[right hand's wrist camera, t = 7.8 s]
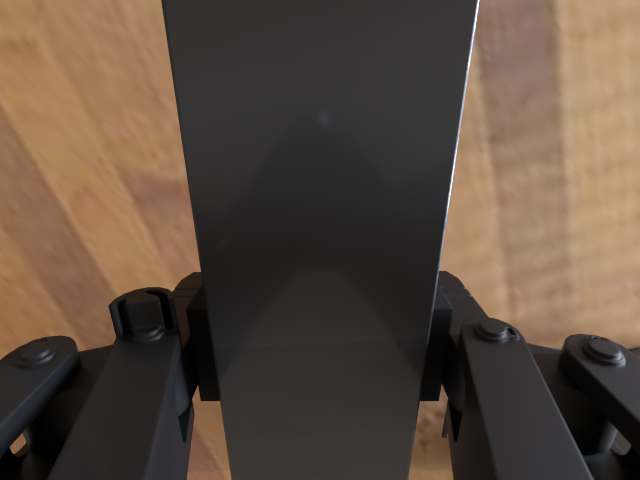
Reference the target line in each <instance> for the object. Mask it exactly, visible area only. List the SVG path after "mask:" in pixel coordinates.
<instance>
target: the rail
mask: <svg viewBox="0 0 640 480" xmlns="http://www.w3.org/2000/svg"><path fill="white" fill-rule="evenodd" d="M161 2H162V8H163V15H164V22H165V29H166V36H167V42H168V49H169V56H170V63H171V70H172V77H173V83H174V90H175V97H176V104H177V111H178V117H179V124H180V131H181V138H182V145H183V151H184V158H185V165H186V172H187V179H188V186H189V192H190V199H191V206H192V213H193V220H194V226H195V233H196V240H197V247H198V254H199V260H200V267H201V274H202V281H203V288H204V295H205V301H206V308H207V315H208V322H209V329H210V335H211V342H212V349H213V356H214V363H215V370H216V376H217V383H218V390H219V397H220V404H221V410H222V417H223V424H224V431H225V438H226V444H227V451H228V458H229V465H230V472H231V479H232V480H408V476H409V470H410V463H411V456H412V450H413V443H414V436H415V429H416V423H417V416H418V409H419V403H420V396H421V389H422V382H423V376H424V369H425V362H426V356H427V349H428V342H429V335H430V329H431V322H432V315H433V309H434V302H435V295H436V288H437V282H438V275H439V268H440V262H441V255H442V248H443V242H444V235H445V228H446V221H447V215H448V208H449V201H450V195H451V188H452V181H453V174H454V168H455V161H456V154H457V148H458V141H459V134H460V127H461V121H462V114H463V107H464V101H465V94H466V87H467V80H468V74H469V67H470V60H471V54H472V47H473V40H474V33H475V27H476V20H477V13H478V7H479V0H161Z"/></svg>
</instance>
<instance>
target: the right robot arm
mask: <svg viewBox="0 0 640 480" xmlns="http://www.w3.org/2000/svg"><path fill="white" fill-rule="evenodd" d="M109 310H110V314H111V318H112V322H113V326H114V329H115V333H116V337H117V338H116V340H115V342H114V344H113V345H110V346H106V347H101V348H96V349H91V350H86V351H81V352H78V349H77V346H76V342H75V341H74V340H73V339H72V338H70V337H66V336H51V337H44V338H41V339H36V340H33V341H31V342H29V343H27V344H25V345H23V346H20V347H18V348H17V349H15V350H14V351H12V352H11V353H9V354H7V355H6V356H5V357H4V358H2V359H1V360H0V480H186V479H187V471H188V463H189V455H190V446H191V438H192V430H193V422H194V408H193V403H192V398H193V395H194V393H195V391H196V388H197V386H199V392H200V398H201V401H220V397H219V390H218V383H217V376H216V370H215V363H214V356H213V349H212V342H211V335H210V329H209V322H208V315H207V308H206V301H205V295H204V288H203V281H202V274H201V272H193V273H192V274H190V275H188V276H187V277H185V278H184V279H182V280H181V281H180V282H179V284H178V285H177V286H176V288H175V290H173V291H172V292H171V291H170V290H168V289H165V288H160V287H148V288H143V289H137V290H134V291H131V292H128V293H125V294H123V295H121V296H120V297H118V298H116V299H114V300H113V301H112V302H111V304H110V305H109ZM441 385H443V387H444V389H445V392H446V394H447V396H448V403H447V408H446V414H445V419H444V425H443V431H442V437H443V438H446V437H447V432H448V437H449V445H450V454H451V462H452V470H453V478H454V480H640V348H638V349H635V350H632V351H629V350H628V349H626V348H625V347H623V346H622V345H619V344H617V343H615V342H612V341H611V340H609V339H606V338H603V337H599V336H595V335H586V334H576V335H570V336H569V337H568V338H566V339H565V341H564V345H563V348H562V350H557V349H552V348H547V347H542V346H537V345H532V344H528V343H526V341H525V339H524V337H523V336H522V335H521V333H520V332H519V331H518V330H517V329H515V328H514V327H512V326H511V325H509V324H508V323H505V322H503V321H500V320H498V319H494V318H489V317H488V316H487V315H486V313H485V312H484V311H483V309H482V308H481V307H480V306H479V304H478V303H477V302H476V301H475V299H474V298H473V297H471V294H470V293H469V292H468V290H467V289H465V286H464V285H463V284H462V283H461V281H460V280H459V279H458V278H457V277H455V276H453V275H452V274H450V273H448V272H447V271H439V275H438V282H437V288H436V295H435V302H434V309H433V315H432V322H431V329H430V335H429V342H428V349H427V356H426V362H425V369H424V376H423V382H422V389H421V396H420V401H439V397H440V391H441ZM22 433H23V435H24V437H25V439H26V444H25V445H24V446H23V447H22V448H21V449H20V450H19V451H18V452H17V453H15V454H13V453H12V452H11V450H10V446H11V445H12V444H13V442H14V441H15V440H16V439H17V438H18V437H19V436H20V435H21V434H22Z"/></svg>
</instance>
